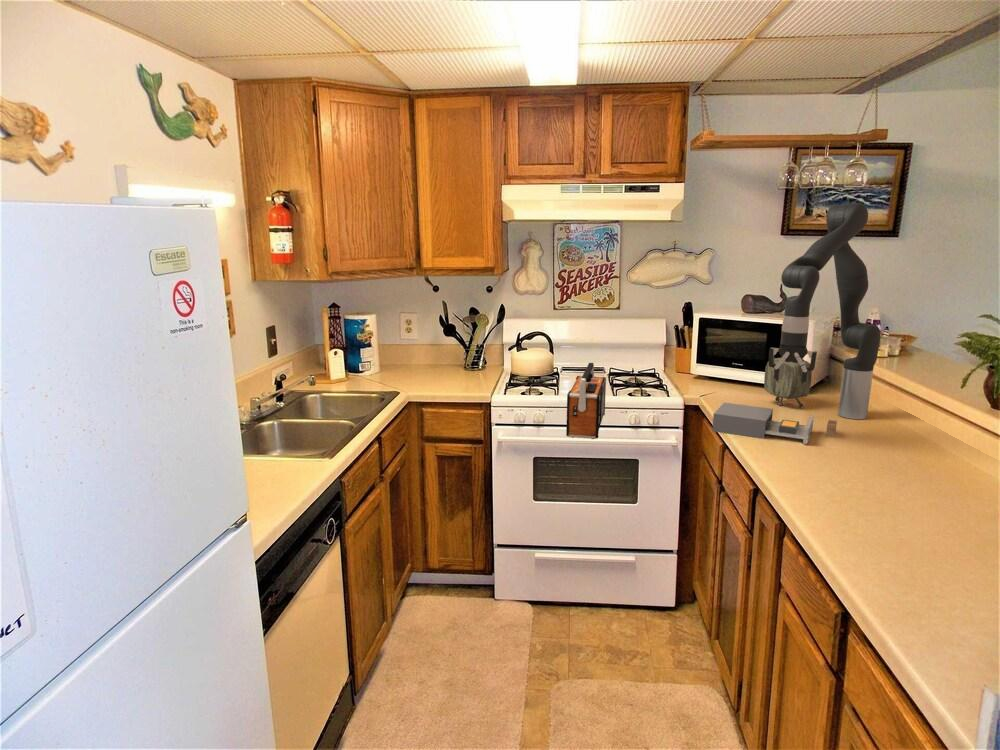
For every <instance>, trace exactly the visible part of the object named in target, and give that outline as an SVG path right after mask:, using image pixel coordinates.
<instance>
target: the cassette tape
mask: <svg viewBox="0 0 1000 750" xmlns="http://www.w3.org/2000/svg"><path fill="white" fill-rule="evenodd" d="M780 422H781V424H780V426H779V432H784V433H791V434H796V433H797V430H798V428H799V425H800V421H795V420H790V419H789V420H788V419H782V420H781V421H780Z"/></svg>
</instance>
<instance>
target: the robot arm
mask: <svg viewBox="0 0 1000 750" xmlns="http://www.w3.org/2000/svg"><path fill="white" fill-rule="evenodd" d="M825 221H826V223H825V224H826V228H827V232H828V233H827V234H826V235H824V236H821V237H820V238H818V239H817V240H815V242H813V243H812V244H811V245H810V246H809V248H808V249H807V250H806V252H804V254H803V255H801V256H800V257H797V258H796V259H795V260H793V261H792V262H790V263H789V264H788V265H786V267H785V268H784V270H783V271H782V273H781V276H780V278H781V279H780V280H781V283H782V284H783V286H784V287H786V288H789V289H796V290H797V289H798V290H801V291H800V292H799V294H798V295H793V296H788V297H787V298H786V299H785V304H784V314H783V320H782V324H781V325H782V326H781V337H780V346H779V348H777V347H770V348H769V350H768V361H769V367H773V368H774V379H776V381H779V374H780V369H779V367H780V366H781V364H782V363H783V362H784V361H786V362H794V363H797V362H798V363H799V365H800V366H801V368H802V370H803V372H802V378H801V383H802V384H804V382H806V380H807V373H808V371H812V372H813V371H814V370H815V366H816V360H817V355H818V351H816V350H814V351H813V350H808V348H807V346H808V336H809V335H808V334H809V327H810V319H809V318H810V309H811V308H810V307H811V302H812V300H813V296H814V294H815V292H816V289H817V287H818V285H819V282H820V278H821V277H820V271H821V270H822V269H824V267H825V266H826V265H827V263H828V262H829V261H830V260H831V258H833V261H834V268H835V279H836V285H837V292H838V299H839V309H840V336H841V341H842V343H843V345H844V346H845V347H847V348H849V349H854V350H858V351H857V355H856V356H855V357H849V358H846V359H844V361H843V369H842V377H841V383H840V384H841V385H840V391H839V393H840V394H839V400H838V401H839V403H838V409H837V415H838V416H839V417H841V418H846V419H851V420H865V419H867V418H868V413H869V412H868V411H869V404H870V399H871V398H870V396H871V391H872V390H871V389H872V382H873V375H874V374H873V373H874V367H875V365H876V362H877V359H878V355H879V354H878V353H879V349H880V346H881V345H880V344H881V337H882V335H881V334H882V332H881V329H880V327H879V326H877V325H875V324H871V323H865V322H860V317H859V308H860V305H861V303H862V301H863V300H864V298H865V296H866V294H867V293H868V290H869V278H868V270H867V265H866V263H864V261H863V260H862V259H861V257H859V255H858V254H857V252H856V251H854V249H853V248H852V247H851V245H850V243H849V242H850V240H852V239H853V238H854V237H855V236H857V235H858V234H859V233H860V232H862V230H863V229H865V227H866V225H867V223H868V221H869V211H868V208H867V206H866V205H865V204H863V203H862V202H861V203H860V202H856V203H854V202H853V203H842V204H835V205H832V206H830V207H829V208H828V210H827V212H826V220H825ZM777 353H779V355H780V358H781V359H780V360H779V362H778V363H777V364H775V363H774V359H775V355H777ZM807 355H808V357H809V359H810V362H809V363H810V366H809V367H807V366H806V364H805V361H806V360H805V359H804V358H805V357H806V356H807ZM804 360H805V361H804Z"/></svg>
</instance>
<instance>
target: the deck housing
mask: <svg viewBox="0 0 1000 750" xmlns="http://www.w3.org/2000/svg"><path fill="white" fill-rule="evenodd" d="M773 413H774V408H770V407H763V406H762V407H760V406H755V405H746V404H738V403H731V402H723V403H722V404H721V405H720V406H719V407H718V408H717V409H716V410H715V411H714V413H713V416H712V417H713V419H712V430H711V431H712V432H716V433H723V434H728V435H735V436H736V435H737V436H741V437H742V436H743V437H749V438H754V439H755V438H756V439H761V440H762V439H763V440H764V439H765V437H766V436H767V434H765V427H766V422H767V420H770V421H773Z"/></svg>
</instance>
